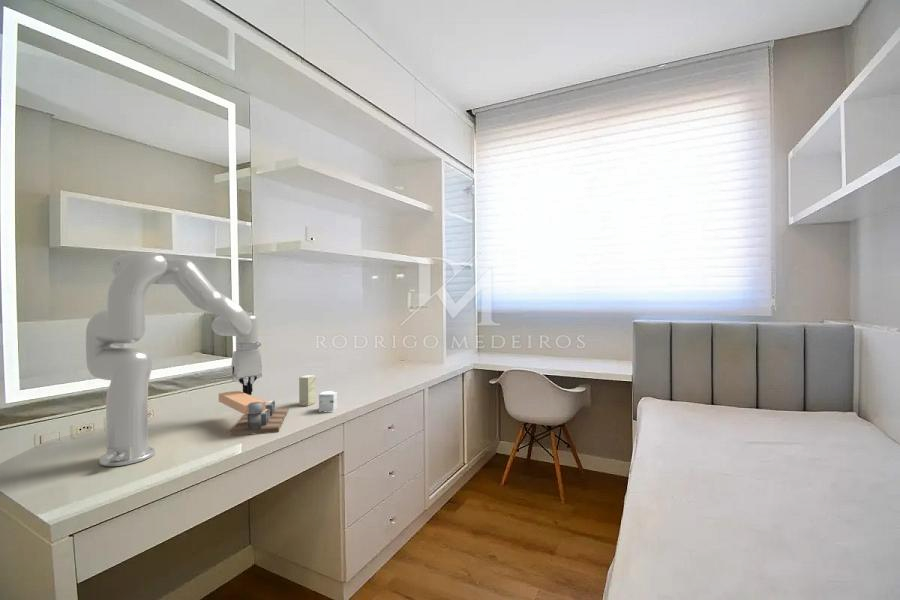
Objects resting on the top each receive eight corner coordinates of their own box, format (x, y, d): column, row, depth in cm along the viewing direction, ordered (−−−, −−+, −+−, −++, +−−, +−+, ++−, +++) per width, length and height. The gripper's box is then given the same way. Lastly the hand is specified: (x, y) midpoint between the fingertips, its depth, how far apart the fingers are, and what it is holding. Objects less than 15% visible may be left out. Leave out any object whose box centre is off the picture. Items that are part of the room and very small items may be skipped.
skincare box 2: (318, 412, 166) (318, 394, 166) (322, 408, 172) (322, 390, 172) (333, 412, 166) (333, 394, 166) (337, 408, 172) (337, 390, 172)
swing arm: (268, 411, 142) (268, 402, 142) (247, 415, 137) (247, 406, 137) (238, 398, 161) (238, 390, 161) (218, 401, 156) (218, 393, 156)
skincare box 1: (308, 406, 175) (308, 377, 175) (298, 405, 176) (298, 377, 176) (315, 402, 181) (315, 374, 181) (306, 402, 182) (306, 374, 182)
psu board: (278, 432, 141) (278, 413, 141) (229, 436, 138) (229, 416, 138) (288, 411, 167) (288, 394, 167) (248, 413, 164) (248, 397, 164)
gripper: (262, 344, 166) (262, 389, 167) (222, 348, 155) (223, 396, 155) (270, 345, 161) (271, 392, 162) (230, 350, 150) (230, 400, 150)
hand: (247, 394), depth 159 cm, fingers closed
